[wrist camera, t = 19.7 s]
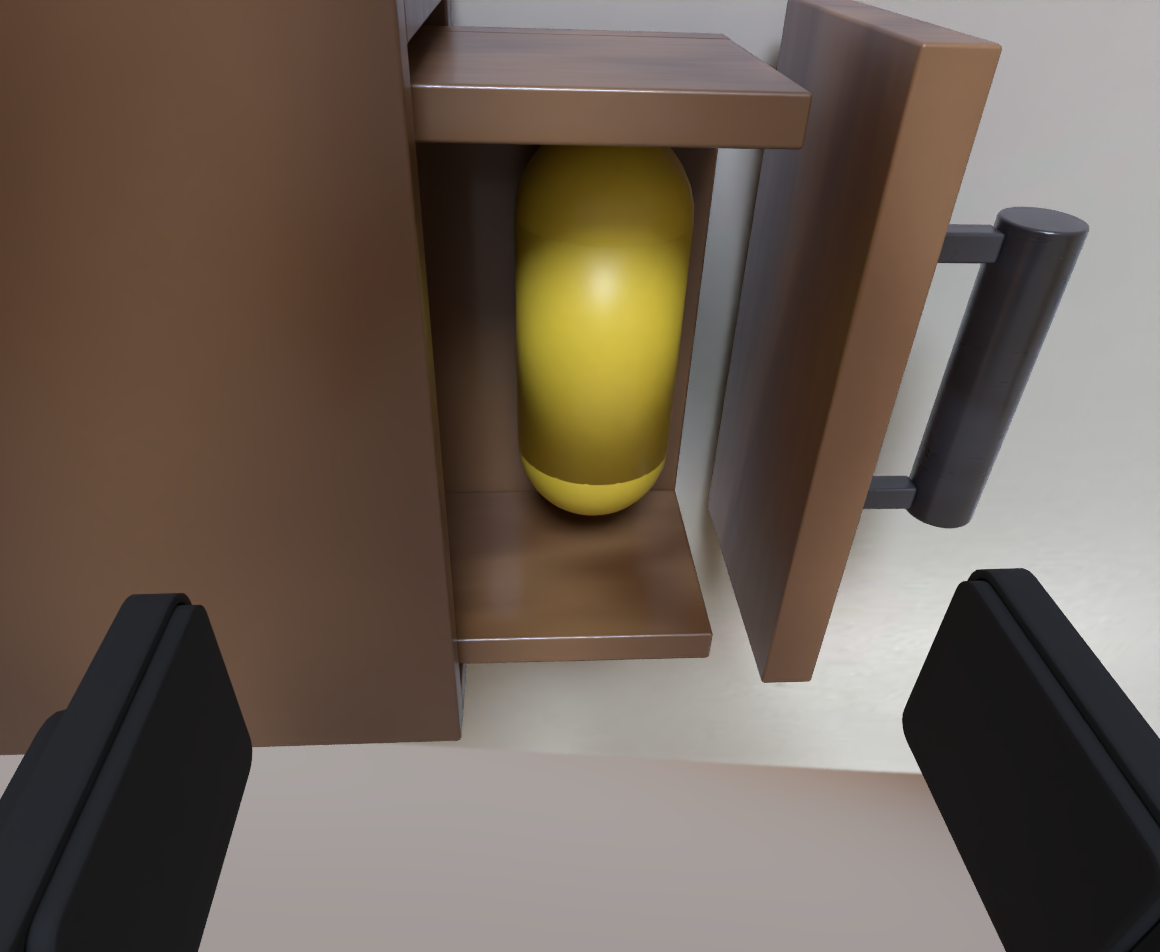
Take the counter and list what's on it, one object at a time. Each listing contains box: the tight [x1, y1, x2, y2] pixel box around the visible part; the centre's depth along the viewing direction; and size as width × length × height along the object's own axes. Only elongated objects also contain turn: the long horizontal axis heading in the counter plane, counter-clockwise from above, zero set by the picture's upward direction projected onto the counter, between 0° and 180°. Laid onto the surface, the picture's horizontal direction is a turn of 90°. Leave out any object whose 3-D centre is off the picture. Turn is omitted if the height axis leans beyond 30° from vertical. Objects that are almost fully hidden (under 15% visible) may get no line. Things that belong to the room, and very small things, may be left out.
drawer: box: [407, 0, 1089, 683], centre depth 17 cm, size 20×13×7 cm
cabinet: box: [0, 0, 467, 755], centre depth 17 cm, size 17×15×9 cm
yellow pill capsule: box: [514, 145, 694, 516], centre depth 18 cm, size 9×4×4 cm, turn 178°
